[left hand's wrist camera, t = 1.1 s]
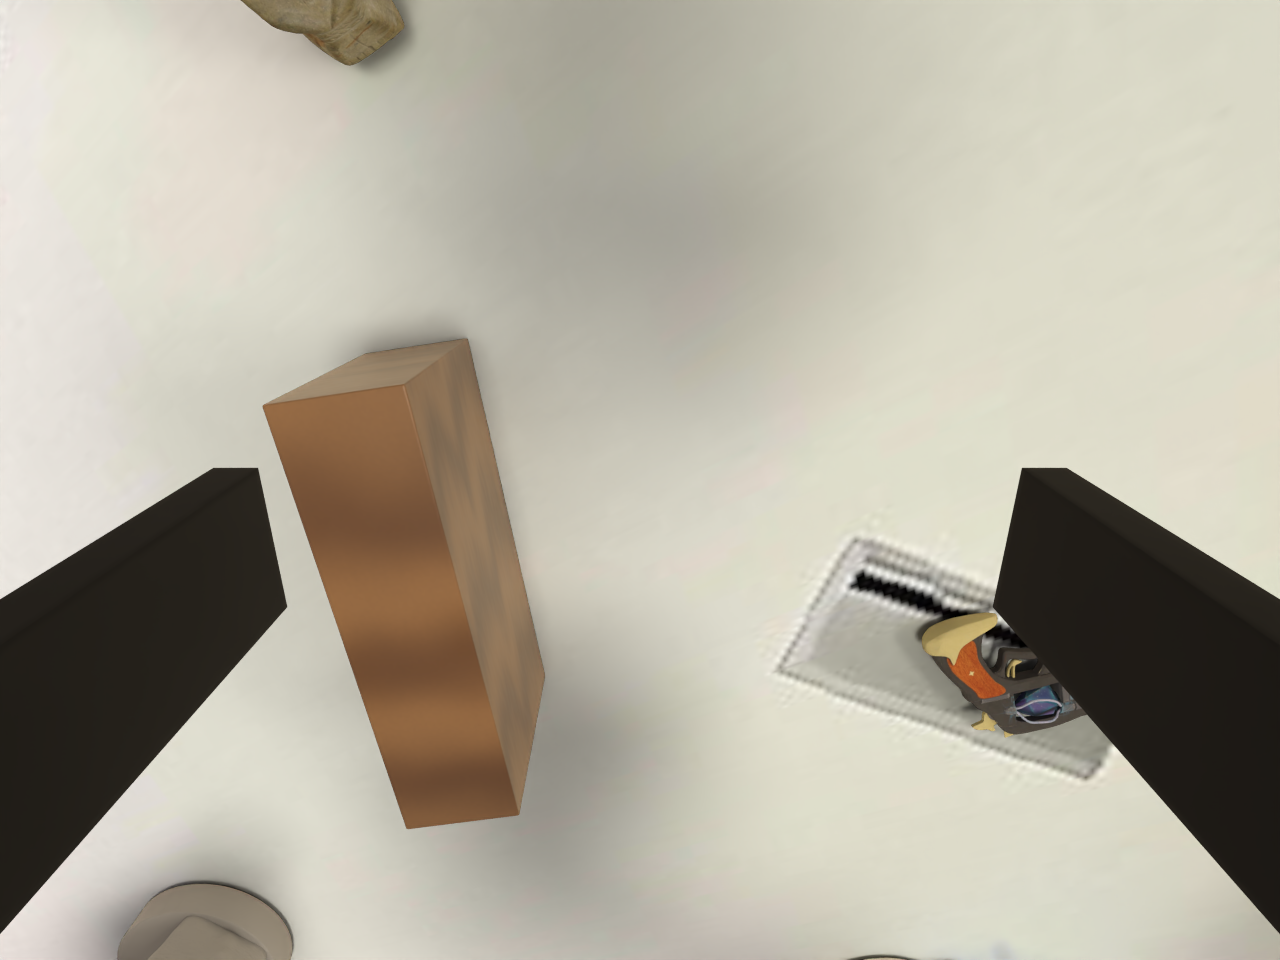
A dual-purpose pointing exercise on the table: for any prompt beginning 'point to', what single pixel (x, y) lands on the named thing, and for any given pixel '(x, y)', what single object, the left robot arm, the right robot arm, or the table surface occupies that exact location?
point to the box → (419, 573)
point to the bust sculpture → (206, 927)
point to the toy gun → (998, 678)
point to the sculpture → (335, 23)
